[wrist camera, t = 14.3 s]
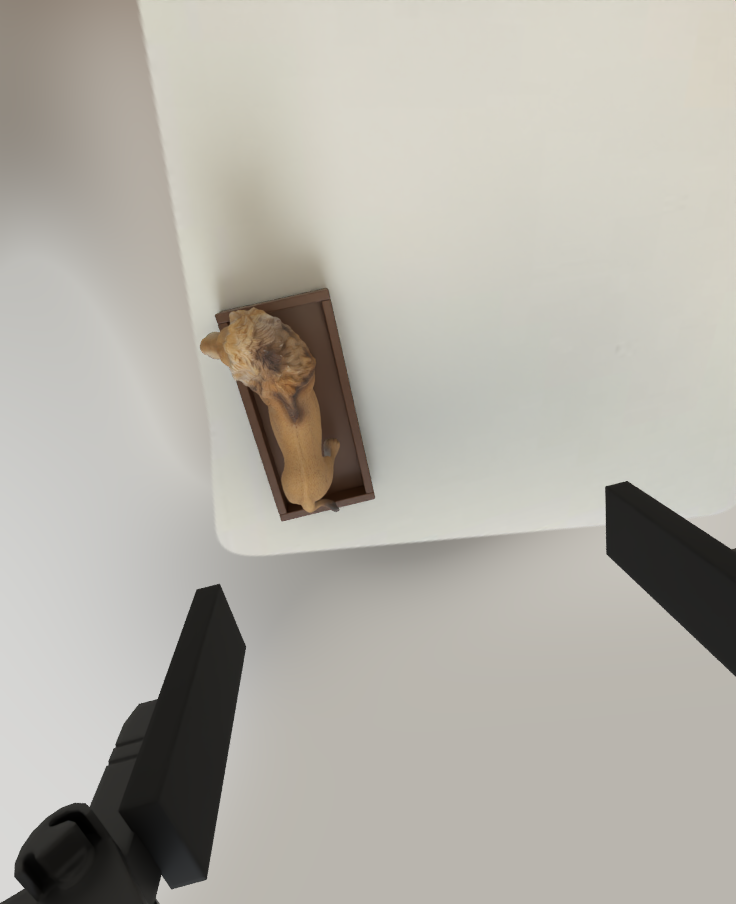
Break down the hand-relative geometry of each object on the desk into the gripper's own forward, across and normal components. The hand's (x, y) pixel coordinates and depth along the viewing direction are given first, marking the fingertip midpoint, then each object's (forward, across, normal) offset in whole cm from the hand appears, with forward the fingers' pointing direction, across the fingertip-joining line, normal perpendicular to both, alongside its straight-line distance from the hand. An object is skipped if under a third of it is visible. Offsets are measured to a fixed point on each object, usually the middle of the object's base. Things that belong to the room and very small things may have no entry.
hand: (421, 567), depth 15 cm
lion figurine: (+19, -5, +1) cm, 20 cm away
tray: (+20, -4, +1) cm, 20 cm away
